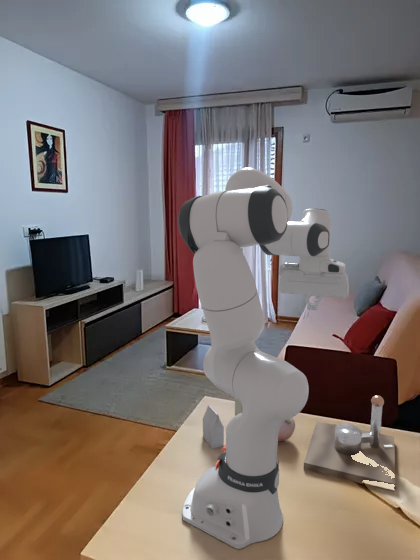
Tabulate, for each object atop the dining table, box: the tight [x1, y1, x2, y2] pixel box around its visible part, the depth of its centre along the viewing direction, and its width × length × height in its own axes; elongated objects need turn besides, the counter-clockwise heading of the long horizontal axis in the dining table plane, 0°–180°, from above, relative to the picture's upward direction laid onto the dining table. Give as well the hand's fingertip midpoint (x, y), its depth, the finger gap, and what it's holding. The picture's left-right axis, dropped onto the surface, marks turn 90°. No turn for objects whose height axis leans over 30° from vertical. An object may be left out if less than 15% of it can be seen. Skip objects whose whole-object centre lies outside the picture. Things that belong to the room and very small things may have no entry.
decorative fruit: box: [278, 417, 296, 442], centre depth 120 cm, size 9×8×10 cm
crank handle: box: [334, 394, 385, 455], centre depth 112 cm, size 13×7×15 cm, turn 99°
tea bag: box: [202, 404, 225, 450], centre depth 119 cm, size 4×7×10 cm, turn 24°
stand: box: [303, 421, 397, 486], centre depth 113 cm, size 22×22×2 cm
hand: (312, 309), depth 123 cm, fingers closed
